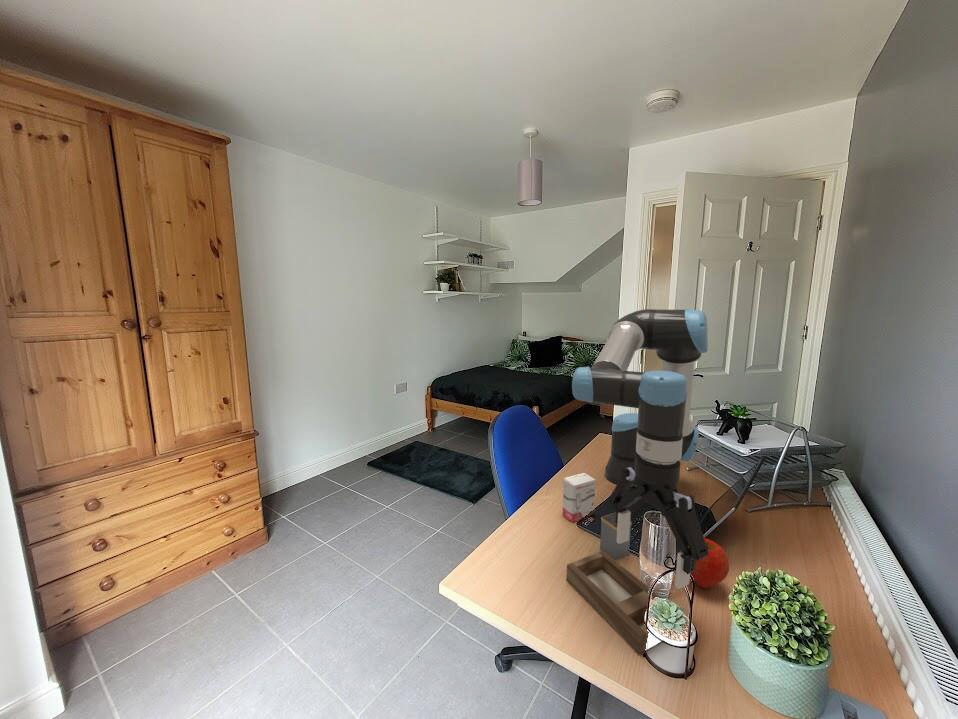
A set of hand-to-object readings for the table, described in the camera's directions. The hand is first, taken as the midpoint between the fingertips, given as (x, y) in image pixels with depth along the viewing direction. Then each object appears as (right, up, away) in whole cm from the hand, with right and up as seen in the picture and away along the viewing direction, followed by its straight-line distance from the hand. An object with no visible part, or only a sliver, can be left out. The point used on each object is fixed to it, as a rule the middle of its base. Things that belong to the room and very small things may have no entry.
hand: (649, 561), depth 73 cm
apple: (+18, -13, +14) cm, 27 cm away
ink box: (-3, -8, +42) cm, 43 cm away
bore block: (-3, -14, +9) cm, 17 cm away
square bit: (+2, -11, +26) cm, 28 cm away
